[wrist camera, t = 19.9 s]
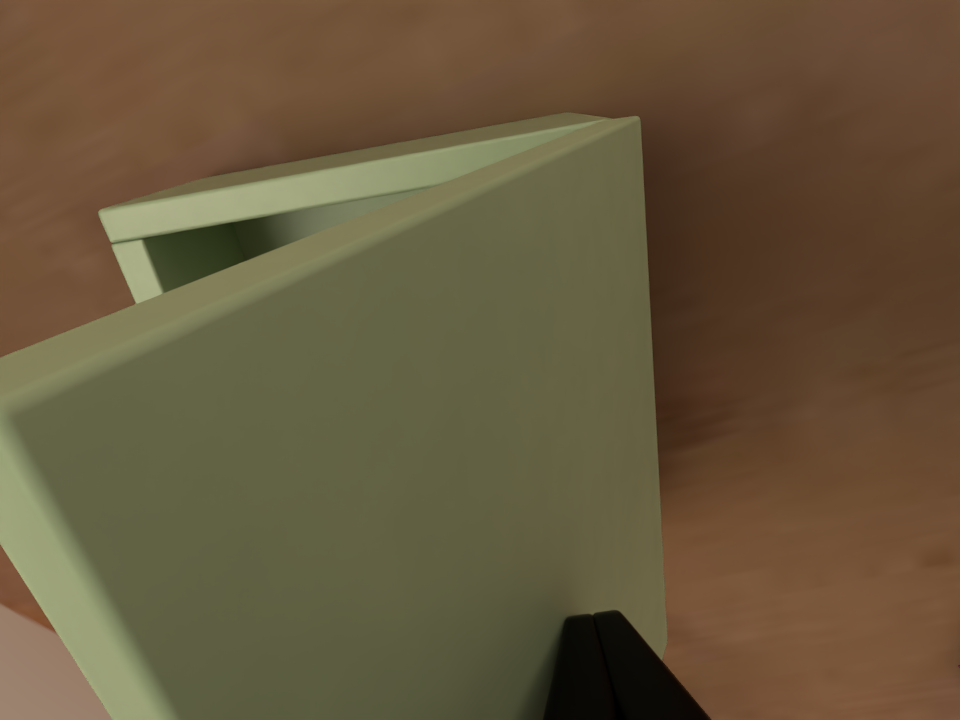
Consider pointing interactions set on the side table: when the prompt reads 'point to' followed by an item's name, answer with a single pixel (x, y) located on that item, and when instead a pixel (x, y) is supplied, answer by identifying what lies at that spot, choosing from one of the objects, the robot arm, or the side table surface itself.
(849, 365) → the side table surface
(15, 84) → the side table surface
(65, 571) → the lid
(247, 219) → the chest
